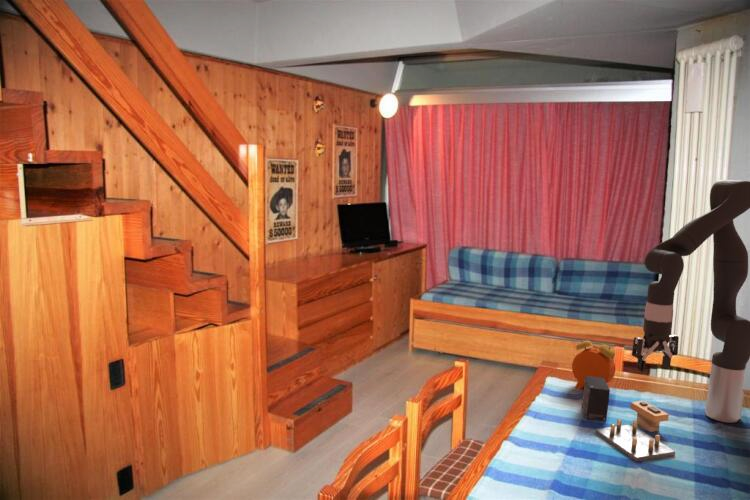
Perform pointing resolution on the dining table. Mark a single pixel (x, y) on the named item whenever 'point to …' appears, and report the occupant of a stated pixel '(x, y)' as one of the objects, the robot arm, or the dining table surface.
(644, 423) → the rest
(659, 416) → the board
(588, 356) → the alarm clock
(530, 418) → the dining table surface
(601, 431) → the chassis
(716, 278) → the robot arm
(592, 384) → the small box
